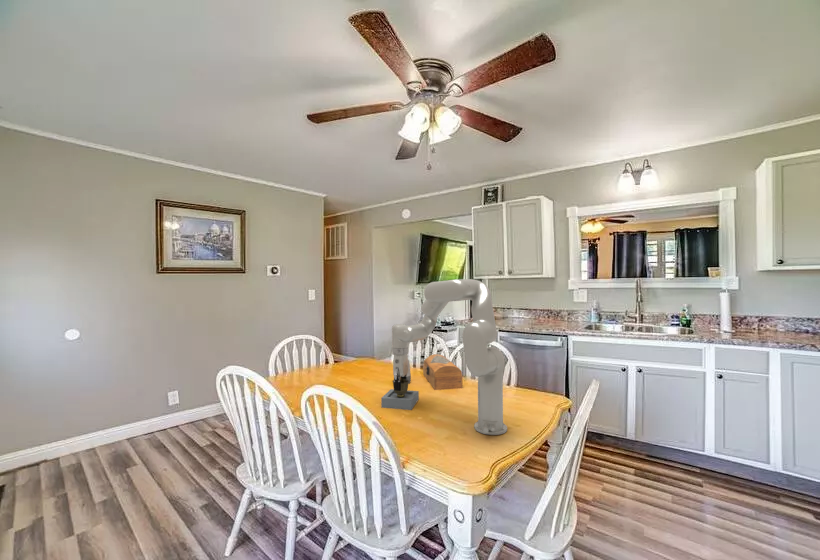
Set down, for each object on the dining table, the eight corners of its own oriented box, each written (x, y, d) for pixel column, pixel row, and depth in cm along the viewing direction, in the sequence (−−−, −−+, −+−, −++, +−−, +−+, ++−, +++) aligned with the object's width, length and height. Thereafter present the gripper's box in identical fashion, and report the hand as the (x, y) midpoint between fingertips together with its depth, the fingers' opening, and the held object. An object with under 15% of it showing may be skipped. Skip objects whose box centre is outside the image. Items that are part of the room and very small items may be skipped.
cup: (389, 396, 173) (389, 379, 173) (402, 393, 178) (401, 377, 178) (399, 400, 167) (399, 383, 167) (411, 397, 172) (411, 380, 172)
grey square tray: (411, 411, 164) (411, 400, 164) (381, 409, 168) (381, 397, 168) (418, 401, 178) (418, 391, 178) (391, 399, 182) (390, 389, 182)
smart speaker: (404, 381, 212) (404, 357, 212) (414, 385, 204) (413, 360, 204) (390, 384, 206) (390, 359, 206) (399, 388, 199) (399, 362, 199)
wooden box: (421, 377, 221) (421, 354, 221) (448, 376, 223) (448, 353, 223) (431, 392, 191) (431, 366, 191) (462, 391, 193) (462, 364, 193)
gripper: (402, 354, 164) (403, 393, 164) (412, 347, 180) (412, 383, 180) (386, 354, 166) (387, 392, 166) (397, 347, 182) (398, 382, 182)
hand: (400, 387), depth 173 cm, fingers open, 9 cm apart
